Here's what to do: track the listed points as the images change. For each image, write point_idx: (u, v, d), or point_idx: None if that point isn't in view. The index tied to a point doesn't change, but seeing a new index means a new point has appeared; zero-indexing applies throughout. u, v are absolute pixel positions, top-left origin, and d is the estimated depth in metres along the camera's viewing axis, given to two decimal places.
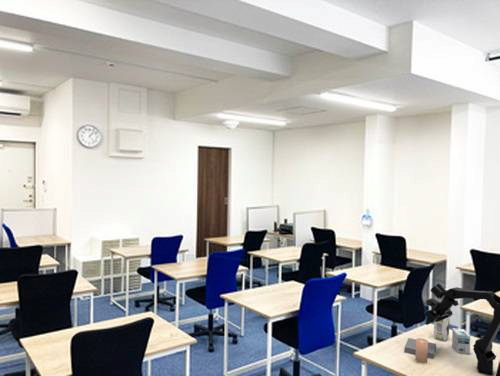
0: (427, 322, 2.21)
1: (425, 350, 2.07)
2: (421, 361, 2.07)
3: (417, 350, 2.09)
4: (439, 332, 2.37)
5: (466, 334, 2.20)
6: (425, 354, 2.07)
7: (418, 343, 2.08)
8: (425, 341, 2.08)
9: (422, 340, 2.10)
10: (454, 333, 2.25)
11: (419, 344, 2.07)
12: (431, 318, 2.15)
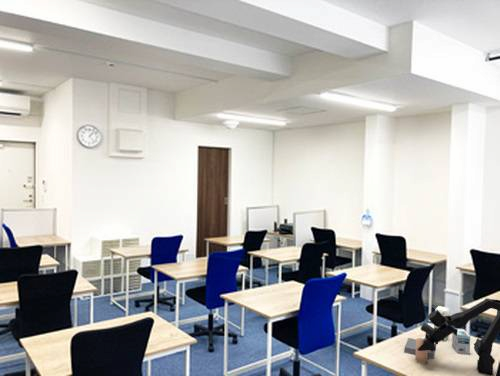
0: (421, 348, 2.06)
1: (425, 350, 2.07)
2: (421, 361, 2.07)
3: (417, 350, 2.09)
4: None
5: (466, 334, 2.20)
6: (425, 354, 2.07)
7: (418, 343, 2.08)
8: None
9: (422, 340, 2.10)
10: None
11: (419, 344, 2.07)
12: (432, 348, 1.98)
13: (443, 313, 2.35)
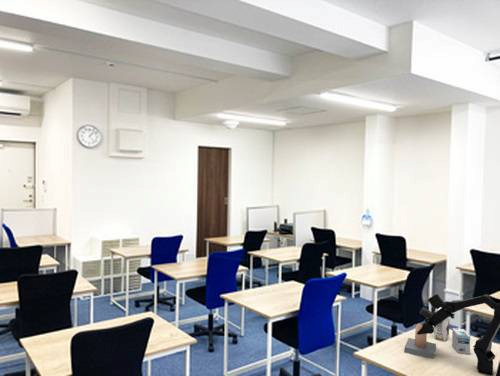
0: (420, 332, 2.17)
1: (424, 335, 2.19)
2: (420, 346, 2.19)
3: (417, 335, 2.21)
4: (439, 332, 2.37)
5: (466, 334, 2.20)
6: (424, 339, 2.19)
7: (417, 329, 2.20)
8: None
9: (421, 326, 2.22)
10: (454, 333, 2.25)
11: None
12: (431, 331, 2.10)
13: None
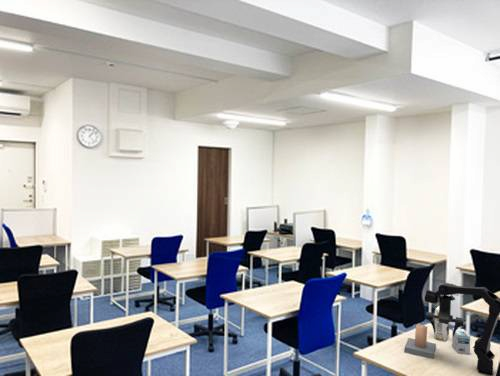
0: None
1: (424, 335, 2.19)
2: (420, 346, 2.19)
3: (417, 335, 2.21)
4: (439, 332, 2.37)
5: (466, 334, 2.20)
6: (424, 339, 2.19)
7: (418, 329, 2.20)
8: (424, 327, 2.21)
9: (422, 326, 2.22)
10: None
11: (419, 330, 2.20)
12: (463, 321, 2.10)
13: None
